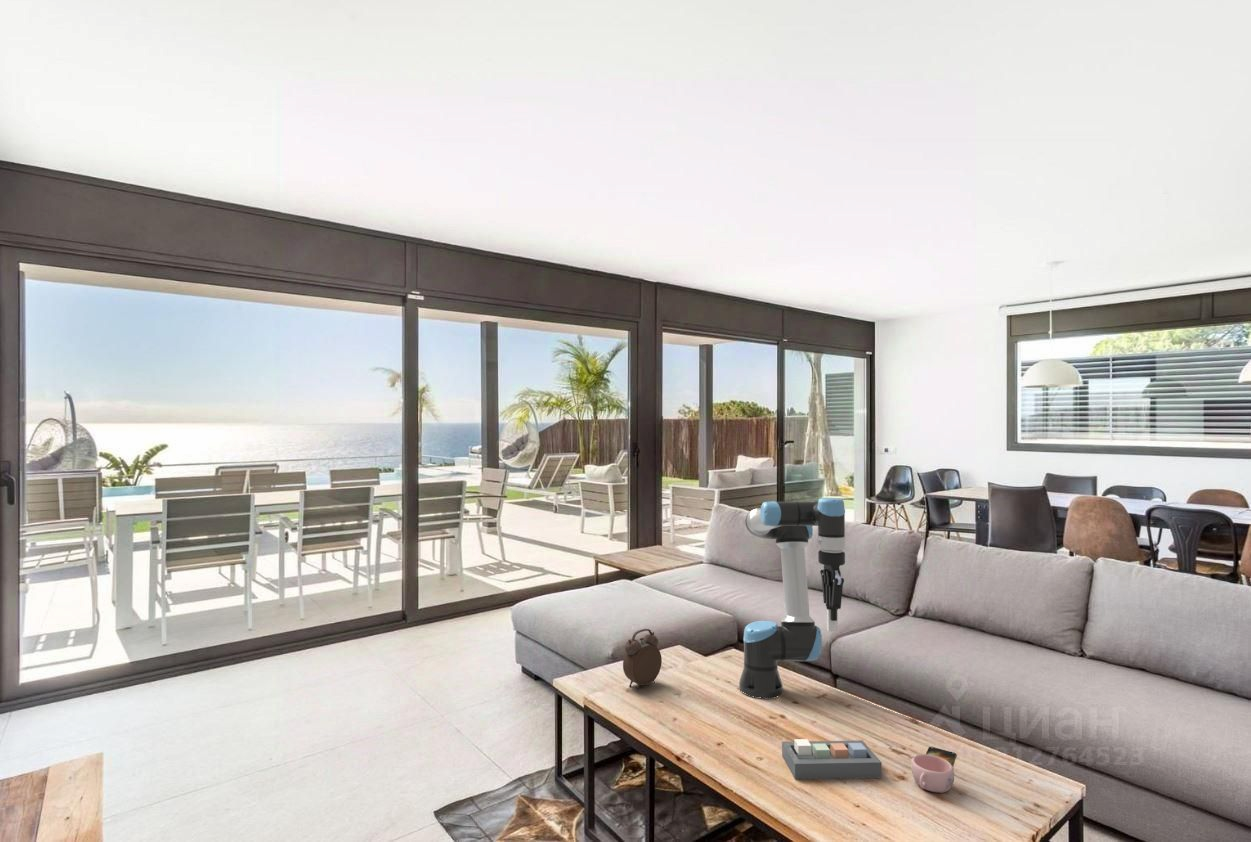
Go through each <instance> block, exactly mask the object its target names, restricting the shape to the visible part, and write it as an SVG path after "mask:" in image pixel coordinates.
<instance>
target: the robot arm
mask: <svg viewBox="0 0 1251 842" xmlns="http://www.w3.org/2000/svg"><path fill="white" fill-rule="evenodd" d="M845 513H846V509H845V501H844V500H843V499H842V498H840V497H839V498H838V497H821V498H819V499H818V500H812V501H775V500H773V501H764V502H762V504H761V505H760V508H759V507H758V508H755V509H752V510H750V511H749V512H748V513H747V514H746V517H745V521H744V523H745V524H744V525H745V527H746V529H747V530H748V532H749V533H750V534H752V535H753V536H755V537H757V538H761V539H764V540H775V545H776V546H777V547H778V548H779V549H780V555H781V556H780V558H781V574H782V587H783V588H782V589H783V602H784V603H783V605H784V617H783V618H782V619H781V621H780V624H781V626H779V625H778V624H777V622H775V621H771V620H757V621H753V622H750V623H749V624H746V626H745V627H744V629H743V639H742V640H743V670H742V673H741V675H740V678H739V683H738V688H740V690H741V691H742V692H744V693H746V694H748V695H750V696H749V697H751V696H754V697H753V698H755V697H761V698H760V699H765V698H767V699H774V697H775V698H777V696H778V697H780V696H781V694H782V695H783V693H784V685H783V683H782V679H781V677H780V673H779V670H778V669H779V668H778V663H779V662H803V663H805V662H811V661H816V660H818V658H819V657H820V655H821V652H822V651H821V650H822V646H823V645H822V643H823V641H822V640H823V639H822V637H823V635H822V632H821V631H822V630H821V628H820V627H819V626H818V625H816V623H815V620H814V619H813V617H811V615H810V601H809V591H808V590H809V589H808V577H807V576H808V575H807V563H806V553H805V550H806V549H805V548H806V547H807V546H808V545H809V540H810V539H812V538H813V534H814V533H813V532H814V531H813V530H814V528H813V527H818V528H817V530H818V531H817V532H818V533H817V535H818V539H816V543H818V549H819V550H818V552H817V553H818V557H817V558H818V563H819V564H820V565H823V569H820V571H819V572H820V576H821V586H822V598H823V603H824V604H825V607H826V630H827V632H839V629H838V628H839V627H838V626H839V625H838V621H839V620H838V618H839V617H838V611H839V610H841V607H842V599H843V586H844V582H845V580H844V579H845V578H844V577H841V576H842V573H841V570H840V567H841V566H844V565H845V563H846V552H845V550H846V535H845V534H846V533H845V532H846V531H845V529H846V528H845V525H846V523H845V521H846V520H845V516H846V514H845ZM740 690H739V691H740ZM741 691H740V692H741ZM742 692H741V693H742ZM744 693H743V694H744ZM748 695H747V696H748Z"/></svg>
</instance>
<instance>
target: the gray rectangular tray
mask: <svg viewBox="0 0 1251 842" xmlns="http://www.w3.org/2000/svg"><path fill="white" fill-rule="evenodd" d="M808 741H809V743H810V744H811V746H812V744H824V743H825V744H826V745H827V747H828V748H829V749H830V743H843V744H844V745H845V746H846V747H847V749H848V743H862V745H863V746H864V747H865V748H866V749H867V758H855V759H853V757H852V756H851V755H850V753H849V752H848V759H835V758H834V757H833V755H832V754H831V752H830V759H816V757H815V756H814V754H813V753H812V755H798V753H797V752H796V750H795V749H794V741H782V742H781V756H782V759H783V760H784V763H785V765H786V767H788V769H789V771H790V773H791V775H792V777H793V778H794V780H831V779H832V780H833V779H834V780H835V779H837V780H838V779H843V780H844V779H882V778H883V775H882V774H883V772H882V770H883V769H882V768H883V767H882V761H881V760H880V759H879V758H878V757H877V755H876V754H875V753H874V752H873V751H872V749H871V748H870V747H869V746H868V745H867V744H866V742H865V741H864V740H808Z"/></svg>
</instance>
